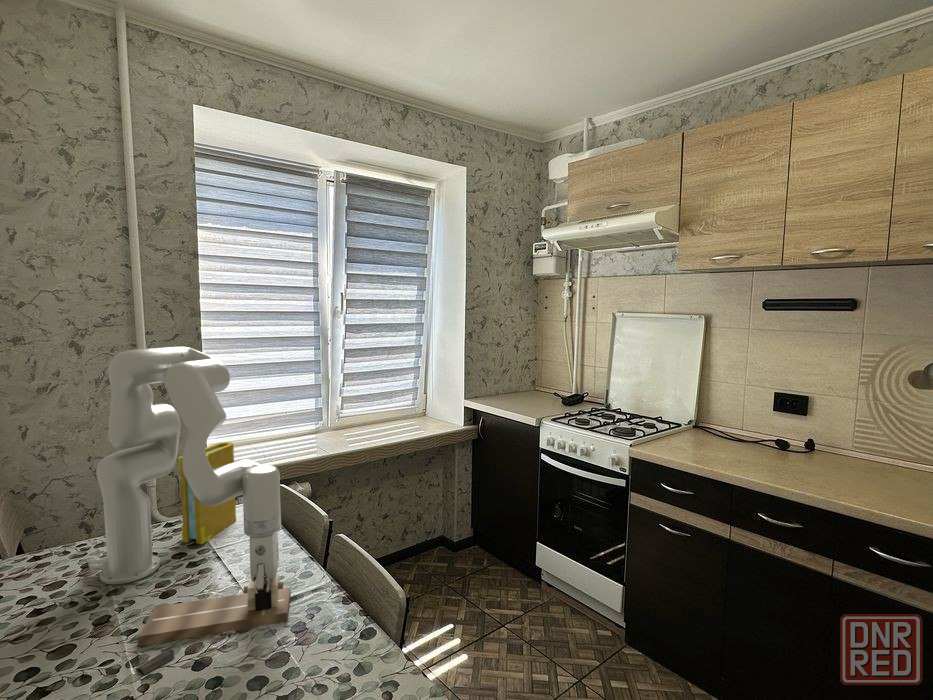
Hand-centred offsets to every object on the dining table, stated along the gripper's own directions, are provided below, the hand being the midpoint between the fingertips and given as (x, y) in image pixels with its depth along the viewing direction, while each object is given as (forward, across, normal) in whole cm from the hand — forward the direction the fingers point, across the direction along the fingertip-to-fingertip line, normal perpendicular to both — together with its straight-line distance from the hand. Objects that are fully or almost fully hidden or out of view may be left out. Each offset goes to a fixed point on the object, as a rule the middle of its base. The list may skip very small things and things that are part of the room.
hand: (264, 601), depth 107 cm
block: (+3, -11, +18) cm, 21 cm away
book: (+3, +47, +20) cm, 51 cm away
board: (+2, 0, +9) cm, 9 cm away
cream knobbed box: (0, 0, 0) cm, 0 cm away
